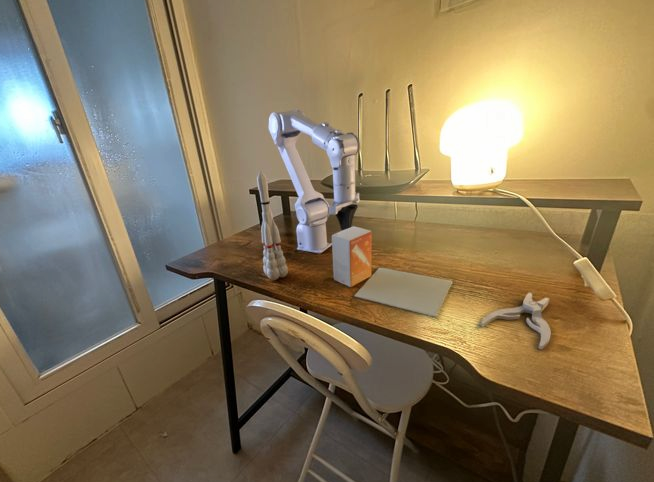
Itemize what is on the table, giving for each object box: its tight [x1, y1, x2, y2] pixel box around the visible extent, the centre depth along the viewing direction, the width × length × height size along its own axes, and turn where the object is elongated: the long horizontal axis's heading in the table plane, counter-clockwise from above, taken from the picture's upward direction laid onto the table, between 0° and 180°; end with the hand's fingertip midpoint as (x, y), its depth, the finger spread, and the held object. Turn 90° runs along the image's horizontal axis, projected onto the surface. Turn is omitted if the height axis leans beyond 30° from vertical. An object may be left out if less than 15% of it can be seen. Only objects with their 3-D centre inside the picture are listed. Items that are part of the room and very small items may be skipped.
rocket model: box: [256, 169, 289, 281], centre depth 81 cm, size 7×7×30 cm
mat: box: [353, 267, 453, 318], centre depth 73 cm, size 18×16×1 cm
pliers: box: [479, 292, 552, 350], centre depth 58 cm, size 10×2×15 cm
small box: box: [331, 225, 373, 288], centre depth 78 cm, size 8×6×13 cm
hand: (346, 230), depth 86 cm, fingers closed
